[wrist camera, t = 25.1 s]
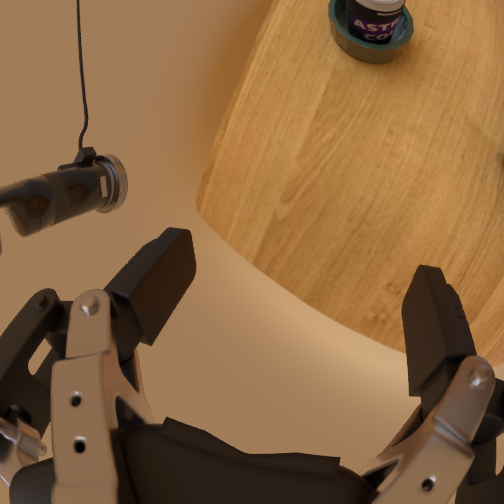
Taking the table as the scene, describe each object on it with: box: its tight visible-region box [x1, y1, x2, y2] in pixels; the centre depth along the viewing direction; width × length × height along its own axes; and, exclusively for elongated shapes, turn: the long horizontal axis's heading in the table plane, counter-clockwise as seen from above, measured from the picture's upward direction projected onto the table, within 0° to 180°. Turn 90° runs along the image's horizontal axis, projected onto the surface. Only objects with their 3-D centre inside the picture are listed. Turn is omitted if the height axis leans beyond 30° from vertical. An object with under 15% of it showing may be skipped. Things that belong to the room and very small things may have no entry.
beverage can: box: [347, 0, 405, 45], centre depth 17 cm, size 6×6×12 cm
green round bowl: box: [329, 0, 414, 64], centre depth 20 cm, size 10×10×6 cm
